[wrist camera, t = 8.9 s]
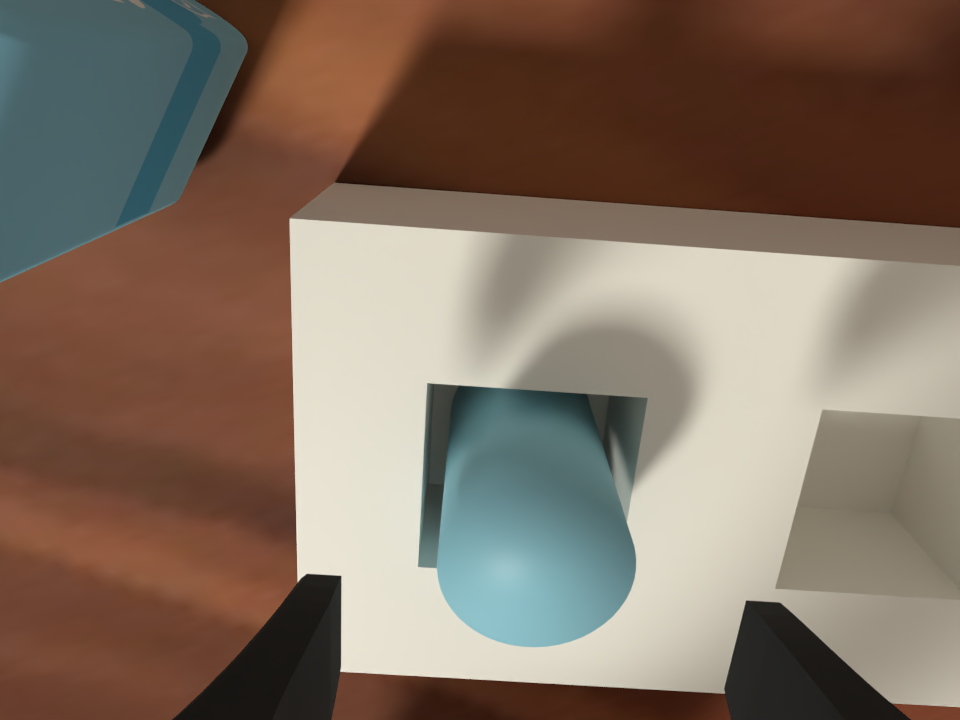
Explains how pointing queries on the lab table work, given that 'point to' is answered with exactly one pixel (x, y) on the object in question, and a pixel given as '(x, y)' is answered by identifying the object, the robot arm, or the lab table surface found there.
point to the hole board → (640, 423)
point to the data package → (102, 115)
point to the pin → (531, 518)
